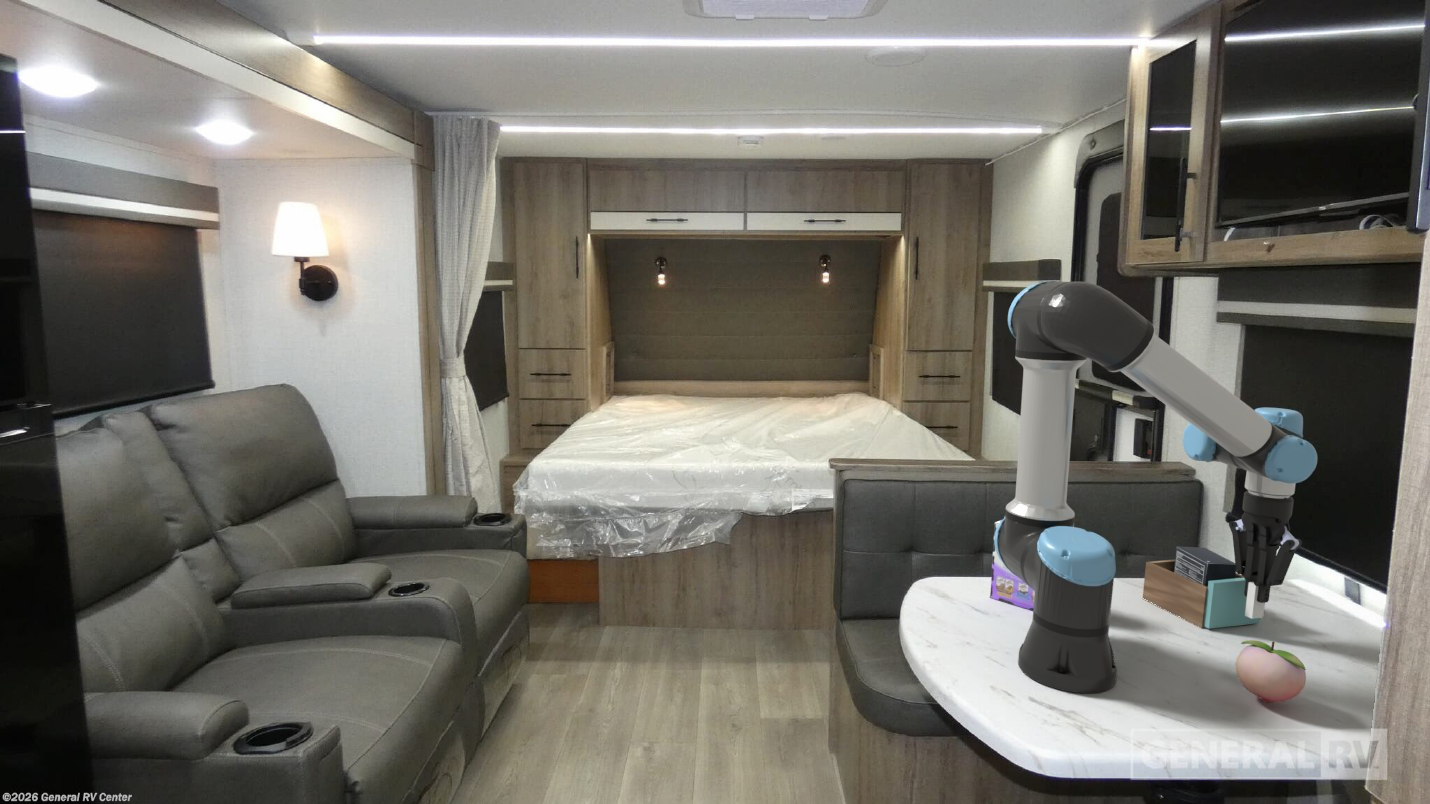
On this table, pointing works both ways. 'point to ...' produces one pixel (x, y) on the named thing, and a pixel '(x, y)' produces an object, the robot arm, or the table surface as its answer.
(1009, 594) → the candy box
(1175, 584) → the cubby
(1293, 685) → the decorative fruit
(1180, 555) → the small box
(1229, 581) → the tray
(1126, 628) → the table surface
